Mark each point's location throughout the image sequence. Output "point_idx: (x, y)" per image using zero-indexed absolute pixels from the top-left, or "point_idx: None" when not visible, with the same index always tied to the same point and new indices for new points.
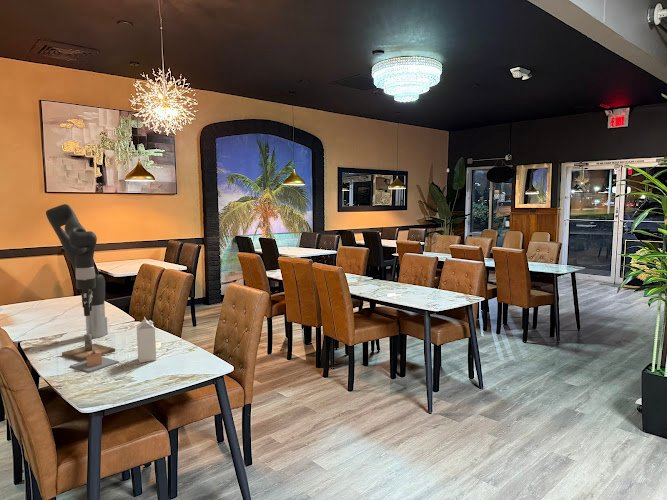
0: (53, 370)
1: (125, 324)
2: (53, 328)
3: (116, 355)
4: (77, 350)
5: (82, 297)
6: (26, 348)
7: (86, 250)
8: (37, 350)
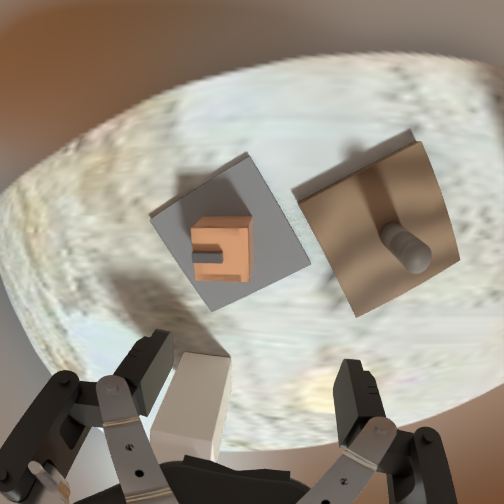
0: (237, 103)
1: None
2: None
3: (302, 311)
4: (415, 196)
5: (6, 446)
6: None
7: None
8: (500, 88)
